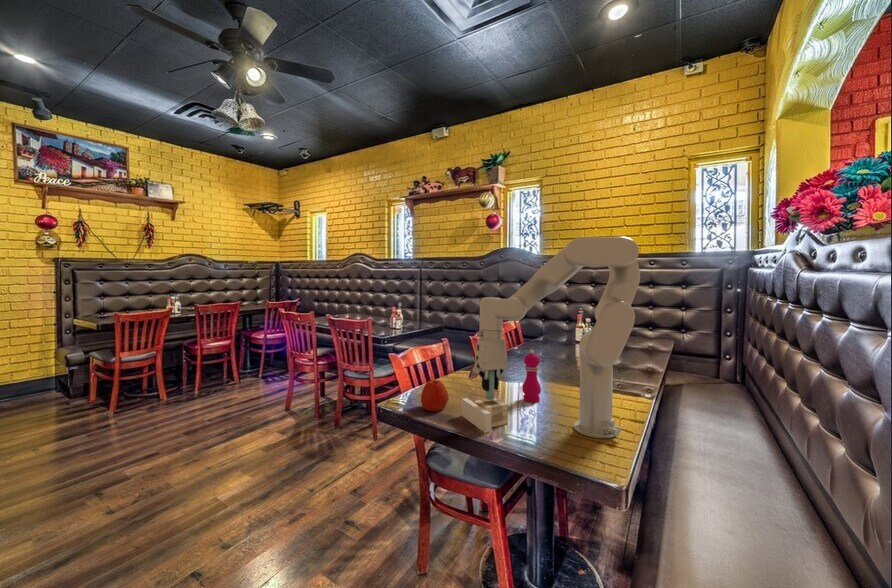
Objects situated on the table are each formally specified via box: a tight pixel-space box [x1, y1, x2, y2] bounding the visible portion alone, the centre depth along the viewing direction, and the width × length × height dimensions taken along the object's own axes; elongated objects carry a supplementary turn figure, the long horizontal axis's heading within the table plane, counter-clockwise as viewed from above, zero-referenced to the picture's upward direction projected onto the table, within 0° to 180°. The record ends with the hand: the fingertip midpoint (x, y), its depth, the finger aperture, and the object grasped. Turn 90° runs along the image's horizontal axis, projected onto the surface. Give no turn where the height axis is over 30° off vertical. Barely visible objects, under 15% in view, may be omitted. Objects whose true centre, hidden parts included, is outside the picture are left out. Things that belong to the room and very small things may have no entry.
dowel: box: [485, 370, 495, 400], centre depth 124 cm, size 3×3×10 cm
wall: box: [461, 397, 492, 434], centre depth 123 cm, size 16×2×6 cm, turn 25°
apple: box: [420, 379, 449, 412], centre depth 137 cm, size 10×10×10 cm
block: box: [473, 397, 509, 428], centre depth 124 cm, size 8×8×6 cm
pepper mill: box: [521, 349, 542, 404], centre depth 146 cm, size 7×7×20 cm
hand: (490, 389), depth 124 cm, fingers closed on dowel, 2 cm apart
